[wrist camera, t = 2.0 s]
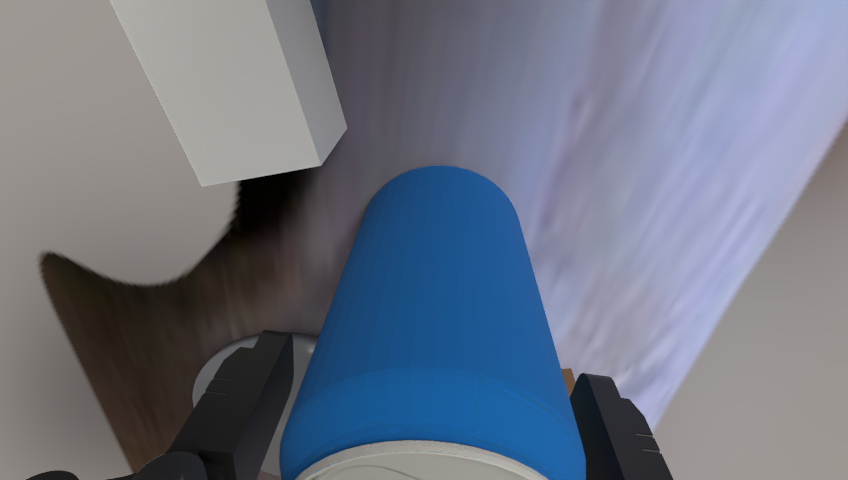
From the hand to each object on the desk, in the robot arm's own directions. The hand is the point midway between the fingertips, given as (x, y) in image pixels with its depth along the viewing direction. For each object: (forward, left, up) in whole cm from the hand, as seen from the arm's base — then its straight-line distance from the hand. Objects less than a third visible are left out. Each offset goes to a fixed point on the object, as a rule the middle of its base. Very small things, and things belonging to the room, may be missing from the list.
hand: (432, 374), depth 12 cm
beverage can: (0, 0, -8) cm, 8 cm away
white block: (-6, -7, -8) cm, 12 cm away
